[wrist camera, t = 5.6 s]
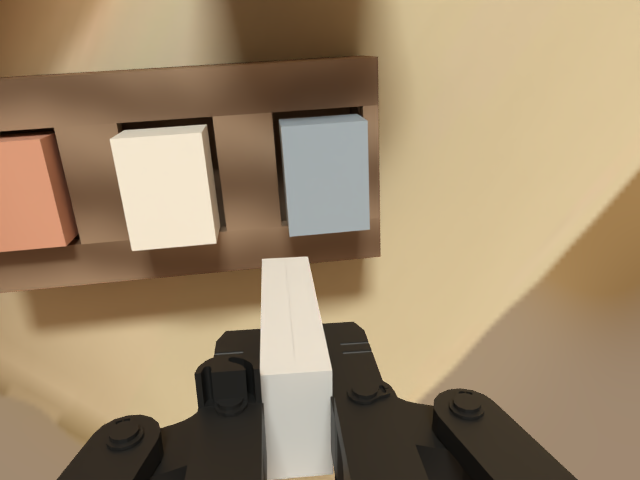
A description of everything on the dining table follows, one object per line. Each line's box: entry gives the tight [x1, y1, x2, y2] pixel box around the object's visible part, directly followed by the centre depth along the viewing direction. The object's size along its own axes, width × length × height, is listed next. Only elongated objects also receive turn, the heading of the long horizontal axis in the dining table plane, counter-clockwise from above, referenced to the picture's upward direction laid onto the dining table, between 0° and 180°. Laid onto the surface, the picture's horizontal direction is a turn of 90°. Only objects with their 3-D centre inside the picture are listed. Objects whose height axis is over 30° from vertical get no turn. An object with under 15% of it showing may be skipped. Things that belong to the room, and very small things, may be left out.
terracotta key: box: [0, 131, 79, 252], centre depth 29 cm, size 6×4×3 cm
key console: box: [0, 56, 380, 293], centre depth 32 cm, size 12×24×5 cm, turn 93°
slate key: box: [279, 114, 370, 237], centre depth 29 cm, size 6×4×3 cm
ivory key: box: [110, 124, 220, 251], centre depth 28 cm, size 6×4×3 cm
